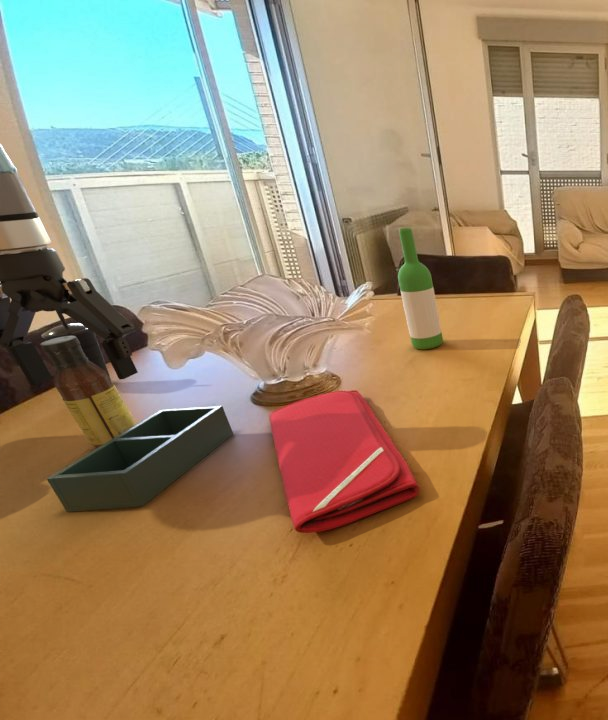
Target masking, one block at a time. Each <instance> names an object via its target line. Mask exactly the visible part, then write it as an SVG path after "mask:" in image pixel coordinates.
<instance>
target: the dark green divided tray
mask: <svg viewBox="0 0 608 720" xmlns="http://www.w3.org/2000/svg"><path fill="white" fill-rule="evenodd" d="M136 424H137V425H135V426H133V427H132V428H130V429H128V430H127V431H125V432H123V433H122V434H120V435H118V436H117V437H115V438H113V439H112V440H110V441H108V442H107V443H105V444H103V445H102V446H100V447H98V448H97V449H95V448H94V449H93V450H92V451H90V452H88V453H87V454H85V455H83V456H82V457H80V458H78V459H76V460H75V461H73V462H71V463H70V464H69V465H67V466H65V467H64V468H62V469H60V470H58V471H56V472H55V473H53V474H52V475H50V476H48V477H47V478H46V480H47V482H48V484H49V485H50V487H51V489H52V491H53V492H54V493H55V496H56V497H57V498H58V500H59V502H60V503H61V505H62V506H63V508H64V510H65V511H66V513H70V512H71V513H72V512H85V511H96V510H97V511H98V510H99V511H100V510H112V509H113V510H114V509H126V508H127V509H128V508H139V507H141V508H142V507H144V506H145V505H147V504H148V503H149V502H151V500H153V499H154V498H155V497H157V496H158V495H159V494H160V493H162V492H163V491H164V490H165V489H167V488H168V487H169V486H171V485H172V484H173V483H174V482H175V481H177V480H178V479H179V478H181V476H183V475H184V474H185V473H187V472H188V471H189V470H191V469H192V468H193V467H194V466H195V465H197V464H198V463H199V462H200V461H202V460H203V459H204V458H206V457H207V456H208V455H209V454H210V453H212V452H213V451H214V450H215V449H217V448H218V447H219V446H220V445H222V444H223V443H224V442H225V441H227V440H228V439H230V437H232V436H233V435H234V431H233V429H232V427H231V425H230V421H229V419H228V416H227V414H226V412H225V409H224V406H223V405H216V406H198V407H197V406H196V407H182V408H166V409H160V410H158V411H157V412H155V413H153V414H152V415H150V416H148V417H147V418H145V419H143V420H142V421H140V422H139V423H136Z"/></svg>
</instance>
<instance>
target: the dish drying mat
mask: <svg viewBox="0 0 608 720" xmlns="http://www.w3.org/2000/svg"><path fill="white" fill-rule="evenodd" d="M268 419H269V424H270V428H271V434H272V440H273V445H274V449H275V454H276V458H277V463H278V467H279V468H278V469H279V471H280V476H281V481H282V486H283V490H284V495H285V499H286V502H287V506H288V510H289V514H290V519H291V521H292V526H293V528H294V530H295V531H296V532H297V533H303V534H311V533H320V532H324V531H329V530H332V529H336V528H339V527H342V526H345V525H348V524H350V523H352V522H356V521H358V520H361V519H363V518H366V517H369V516H371V515H374V514H376V513H378V512H379V513H380V512H381V511H383V510H386V509H389V508H391V507H395V506H397V505H399V504H402V503H404V502H407V501H409V500H412V499H414V498H415V497H417V496H418V494H419V492H420V489H419V486H418V483H417V481H416V479H415V477H414V475H413V473H412V471H411V469H410V466H409V465H408V463H407V462H406V459H404V457H403V456H402V454H401V453H400V451H399V450H398V449H397V447H396V445H395V444H394V442H393V440H392V439H391V437H390V435H389V434H388V433H387V431H386V429H385V428H384V427H383V425H382V424H381V423H380V421H379V419H378V417H377V416H376V415H375V413H374V411H373V410H372V408H371V406H370V405H369V403H368V402H367V400H366V399H365V398H364V397H363V395H362V394H361V393H360V391H358V390H356V389H353V390H336V391H335V390H334V391H330V392H326V393H321V394H318V395H314V396H310V397H307V398H303V399H300V400H297V401H294V402H292V403H289V404H287V405H284V406H282V407H279V408H277V409H275V410H274V411H271V412H270V413H269V418H268Z"/></svg>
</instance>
